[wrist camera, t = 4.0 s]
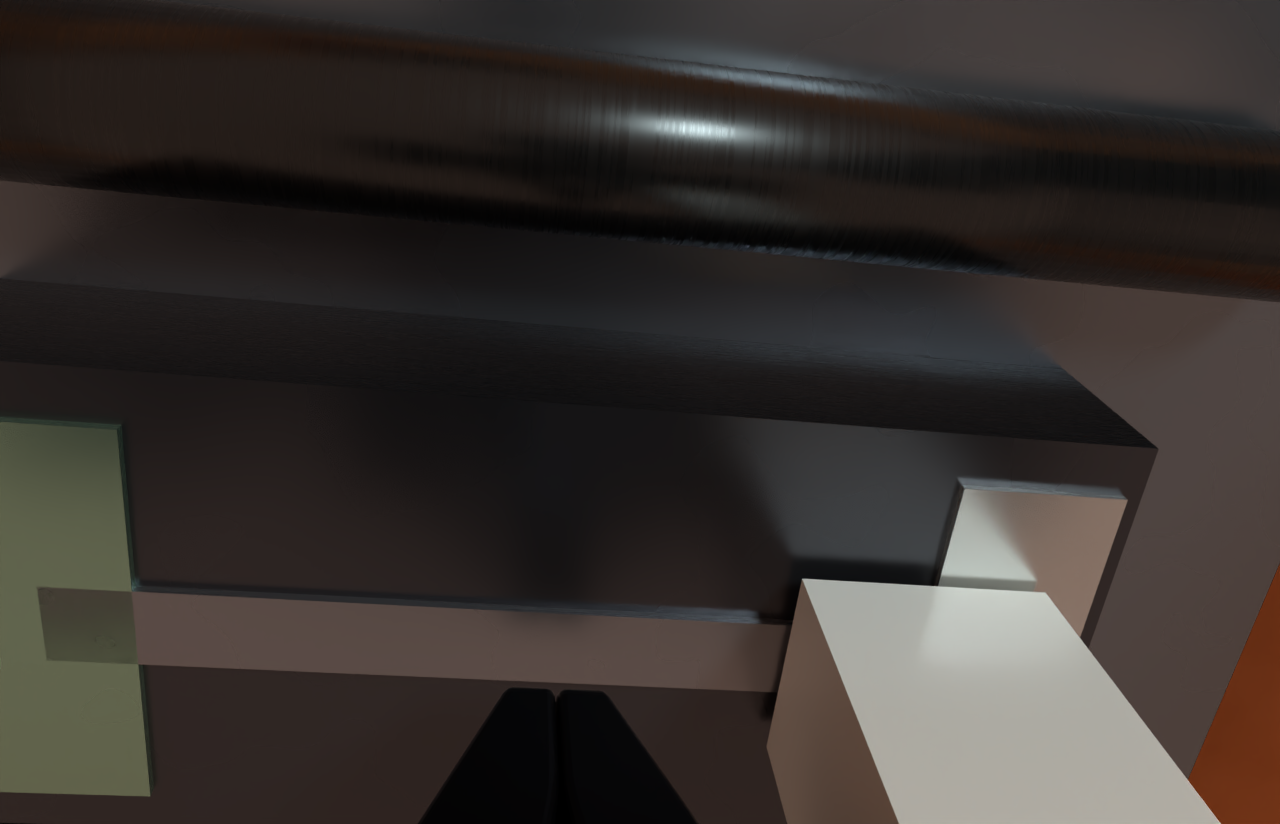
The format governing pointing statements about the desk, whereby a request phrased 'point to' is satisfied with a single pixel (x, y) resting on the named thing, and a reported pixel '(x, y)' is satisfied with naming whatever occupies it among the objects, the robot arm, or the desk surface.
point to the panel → (605, 370)
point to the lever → (959, 716)
